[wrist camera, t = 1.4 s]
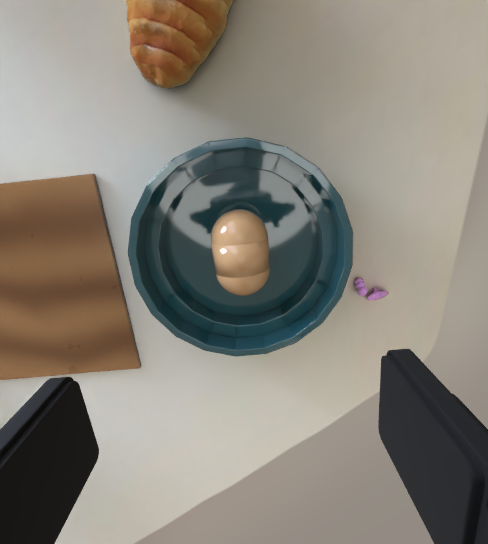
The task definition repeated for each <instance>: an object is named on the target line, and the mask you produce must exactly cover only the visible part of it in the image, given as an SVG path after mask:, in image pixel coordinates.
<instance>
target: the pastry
mask: <svg viewBox="0 0 488 544" xmlns="http://www.w3.org/2000/svg"><path fill="white" fill-rule="evenodd" d="M233 1H234V0H126V3H127V9H128V10H127V20H128V23H129V30H130V52H131V55H132V57H133V59H134V61H135V63H136V65H137V66H138V68H139V70H140V71H141V73H142V76H143V77H144V78H145V79H146V80H147V81H148V82H150V83H152V84H154V85H156V86H159V87H162V88H167V89H169V88H173V87H175V86H179V85H182V84H185V83H187V82H189V80H190V78H191V77H192V75H193V74H194V73H195V72H196V70H197V68H198V66H199V65H201V64H202V63H203V62H204V61H205V60H206V59H207V56H208V55H209V53H210V51H211V49H212V48H213V47H214V46H215V45H216V43H217V40H218V39H219V38H220V36H221V35H222V34H223V32H224V31H225V28H226V25H227V14H228V12H229V9H230V7H231V5H232V3H233Z"/></svg>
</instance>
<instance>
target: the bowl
mask: <svg viewBox="0 0 488 544" xmlns="http://www.w3.org/2000/svg"><path fill="white" fill-rule="evenodd" d="M236 209H243V210H248V211H250V212H253V213H254V214H256V215H257V216H258V217H259V218H260V219H261V220H262V221H263V223H264V224H265V226H266V229H267V233H268V242H269V255H270V275H269V278H268V280H267V282H266V284H265V285H264V286H263V288H261V289H260V290H259V291H258V292H256V293H254V294H251V295H248V296H238V295H234V294H231V293H229V292H227V291H226V290H225V289H224V288H223V287H222V286H221V285H220V284H219V282H218V280H217V278H216V274H215V269H214V262H213V255H212V247H211V231H212V228H213V225H214V224H215V222H216V221H217V219H218V218H219V217H220V216H221V215H223V214H224V213H226V212H228V211H231V210H236ZM128 256H129V261H130V265H131V269H132V274H133V278H134V283H135V286H136V288H137V290H138V292H139V293H140V295H141V297H142V298H143V300H144V302H145V303H146V305H147V307H148V309H149V310H150V312H151V314H152V315H153V316H154V317H155V318H156V319H157V320H159V321H160V322H161V323H162V324H163V325H164V326H165V327H166V328H167V329H168V330H169V331H171V332H172V333H173V334H174V335H175V336H176V337H178V338H180V339H182V340H184V341H186V342H188V343H190V344H192V345H194V346H196V347H198V348H200V349H202V350H205V351H210V352H215V353H221V354H226V355H231V356H245V355H257V354H267V353H270V352H272V351H275V350H278V349H280V348H283V347H286V346H288V345H291V344H294V343H296V342H298V341H299V340H300V339H302V338H303V337H304V336H306V335H307V334H308V333H310V332H311V331H312V330H314V329H315V328H316V327H318V326H319V325H321V324H322V323H323V321H324V320H325V319H326V317H327V316H328V315H329V313H330V312H331V311H332V309H333V308H334V307H335V305H336V304H337V303H338V301H339V300H340V299H341V297H342V294H343V291H344V288H345V285H346V283H347V280H348V277H349V274H350V271H351V268H352V259H353V230H352V227H351V224H350V221H349V218H348V215H347V212H346V209H345V206H344V203H343V200H342V198H341V196H340V195H339V193H338V192H337V191H336V189H335V188H334V187H333V185H332V184H331V183H330V182H329V180H328V179H327V178H326V176H325V175H324V174H323V173H322V171H321V170H320V169H319V168H318V167H317V166H316V165H314V164H313V163H311V162H309V161H308V160H306V159H305V158H303V157H302V156H300V155H299V154H297V153H295V152H294V151H292V150H291V149H289V148H288V147H285V146H282V145H278V144H273V143H269V142H265V141H261V140H256V139H252V138H238V139H228V140H219V141H210V142H207V143H205V144H202V145H200V146H198V147H196V148H194V149H192V150H190V151H188V152H186V153H184V154H182V155H180V156H178V157H176V158H174V159H172V160H171V161H170V162H169V163H168V164H167V165H166V166H165V167H164V168H163V169H162V170H161V171H160V172H159V174H158V175H157V176H156V177H155V178H154V179H153V180H152V181H151V182H150V183H149V184H148V185H147V186H146V188H145V190H144V192H143V194H142V196H141V199H140V201H139V203H138V205H137V207H136V209H135V211H134V214H133V216H132V219H131V226H130V236H129V246H128Z"/></svg>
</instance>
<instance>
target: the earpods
mask: <svg viewBox="0 0 488 544" xmlns="http://www.w3.org/2000/svg"><path fill="white" fill-rule="evenodd" d="M354 284H356V285H355V287H356V289H358V290H357V293H358V295H360V296H364V295H366V294H367V292H368V290H367V288H365V283H364V280H363V279H359V278H356V281H355V282H354ZM374 290H375V291H374V292H373V293H372V294H371V295H370V296H369V297H368V298H367V299H368V300H376V299H380V298H383V297H385V296H386V295H387V294H388V292H387V291H380V290H376V288H374Z"/></svg>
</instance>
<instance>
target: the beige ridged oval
mask: <svg viewBox="0 0 488 544" xmlns="http://www.w3.org/2000/svg"><path fill="white" fill-rule="evenodd" d="M211 247H212V255H213V262H214V269H215V274H216V278H217V280H218V282H219V284H220V285H221V286H222V287H223V288H224V289H225V290H226V291H227V292H229V293H231V294H234V295H238V296H248V295H251V294H254V293H256V292H258V291H259V290H260V289H261V288H263V286H264V285H265V284H266V282H267V280H268V278H269V275H270V255H269V242H268V233H267V229H266V226H265V224H264V223H263V221H262V220H261V219H260V218H259V217H258V216H257V215H256V214H254V213H253V212H250V211H248V210H243V209H236V210H231V211H228V212H226V213H224V214H223V215H221V216H220V217H219V218H218V219H217V221H216V222H215V224H214V225H213V228H212V231H211Z"/></svg>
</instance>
